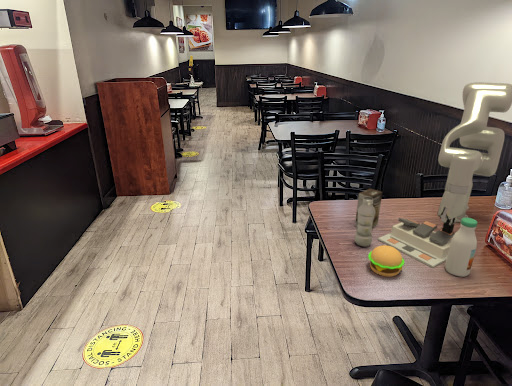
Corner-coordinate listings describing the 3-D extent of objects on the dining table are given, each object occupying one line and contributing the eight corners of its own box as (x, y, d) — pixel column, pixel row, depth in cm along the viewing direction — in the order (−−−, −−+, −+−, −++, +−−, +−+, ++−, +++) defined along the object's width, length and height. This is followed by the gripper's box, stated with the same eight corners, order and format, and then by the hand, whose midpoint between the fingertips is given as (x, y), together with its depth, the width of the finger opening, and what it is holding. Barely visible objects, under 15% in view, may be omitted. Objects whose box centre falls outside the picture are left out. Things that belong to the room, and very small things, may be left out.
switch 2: (441, 230, 135) (441, 227, 134) (454, 235, 131) (454, 232, 130) (429, 240, 131) (429, 237, 131) (441, 245, 128) (442, 242, 127)
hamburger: (361, 260, 128) (364, 240, 125) (393, 259, 129) (396, 239, 126) (374, 280, 117) (377, 258, 114) (408, 278, 118) (413, 257, 114)
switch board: (403, 229, 151) (405, 218, 149) (458, 253, 132) (461, 241, 130) (377, 239, 142) (379, 228, 140) (432, 268, 123) (435, 255, 121)
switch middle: (425, 223, 140) (425, 220, 139) (436, 228, 136) (437, 225, 135) (412, 232, 137) (412, 230, 136) (424, 237, 133) (424, 235, 132)
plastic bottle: (372, 249, 135) (378, 202, 128) (354, 247, 136) (359, 201, 129) (370, 241, 141) (376, 196, 134) (353, 239, 142) (358, 194, 135)
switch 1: (408, 222, 146) (409, 219, 146) (418, 226, 142) (420, 223, 142) (398, 220, 141) (399, 217, 141) (408, 225, 137) (410, 222, 137)
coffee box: (366, 231, 149) (371, 197, 143) (354, 226, 153) (358, 192, 147) (378, 225, 154) (383, 191, 148) (365, 220, 159) (369, 187, 153)
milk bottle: (458, 279, 117) (472, 227, 110) (439, 267, 124) (451, 217, 116) (474, 274, 120) (488, 222, 112) (454, 262, 126) (467, 213, 119)
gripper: (458, 181, 132) (448, 224, 138) (435, 188, 124) (426, 233, 131) (478, 186, 126) (467, 231, 133) (456, 195, 118) (445, 242, 125)
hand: (446, 232), depth 132 cm, fingers closed
